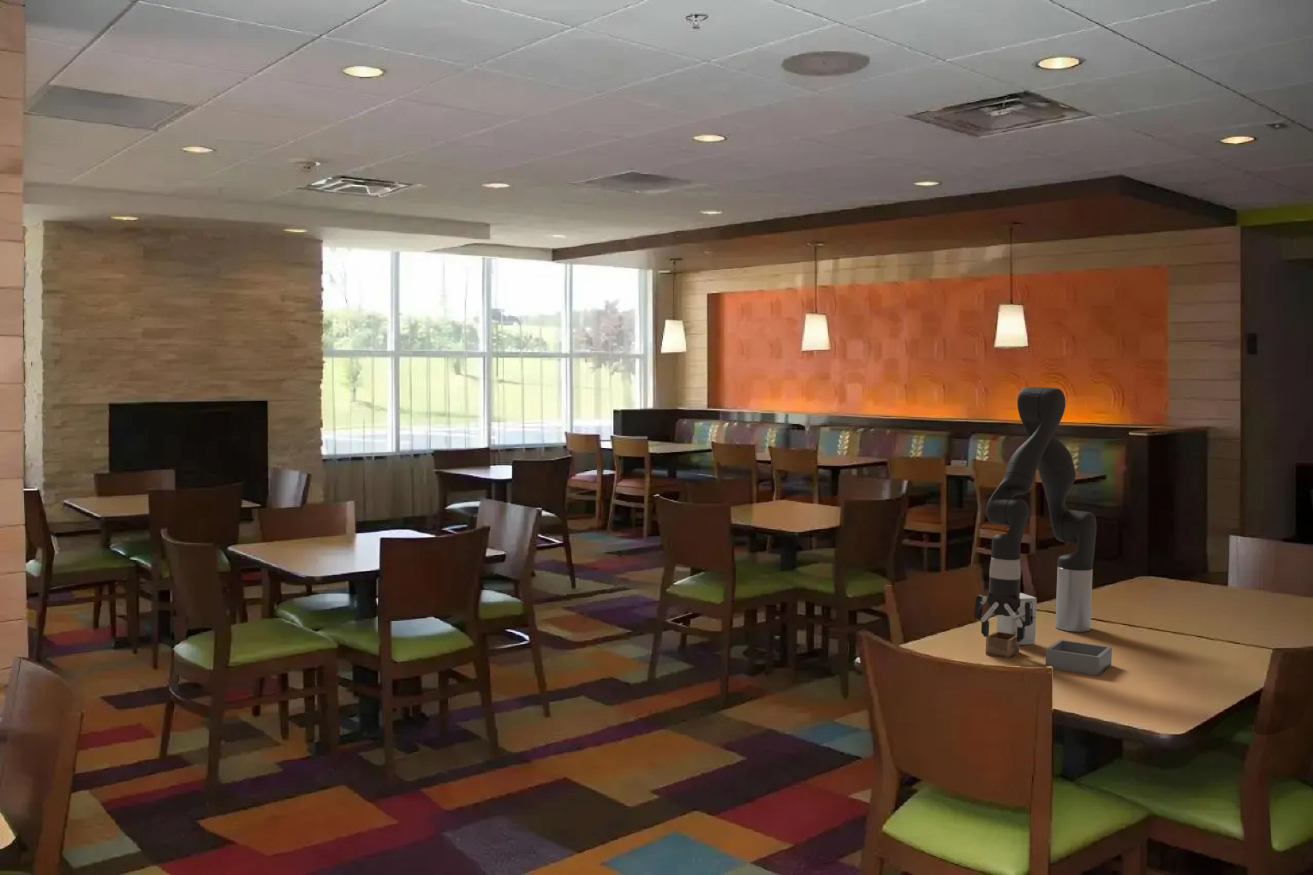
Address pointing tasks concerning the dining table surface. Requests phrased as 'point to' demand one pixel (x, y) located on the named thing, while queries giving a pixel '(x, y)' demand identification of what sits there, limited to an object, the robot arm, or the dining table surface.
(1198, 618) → the dining table surface
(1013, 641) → the small crate
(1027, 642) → the supplement box
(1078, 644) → the box
